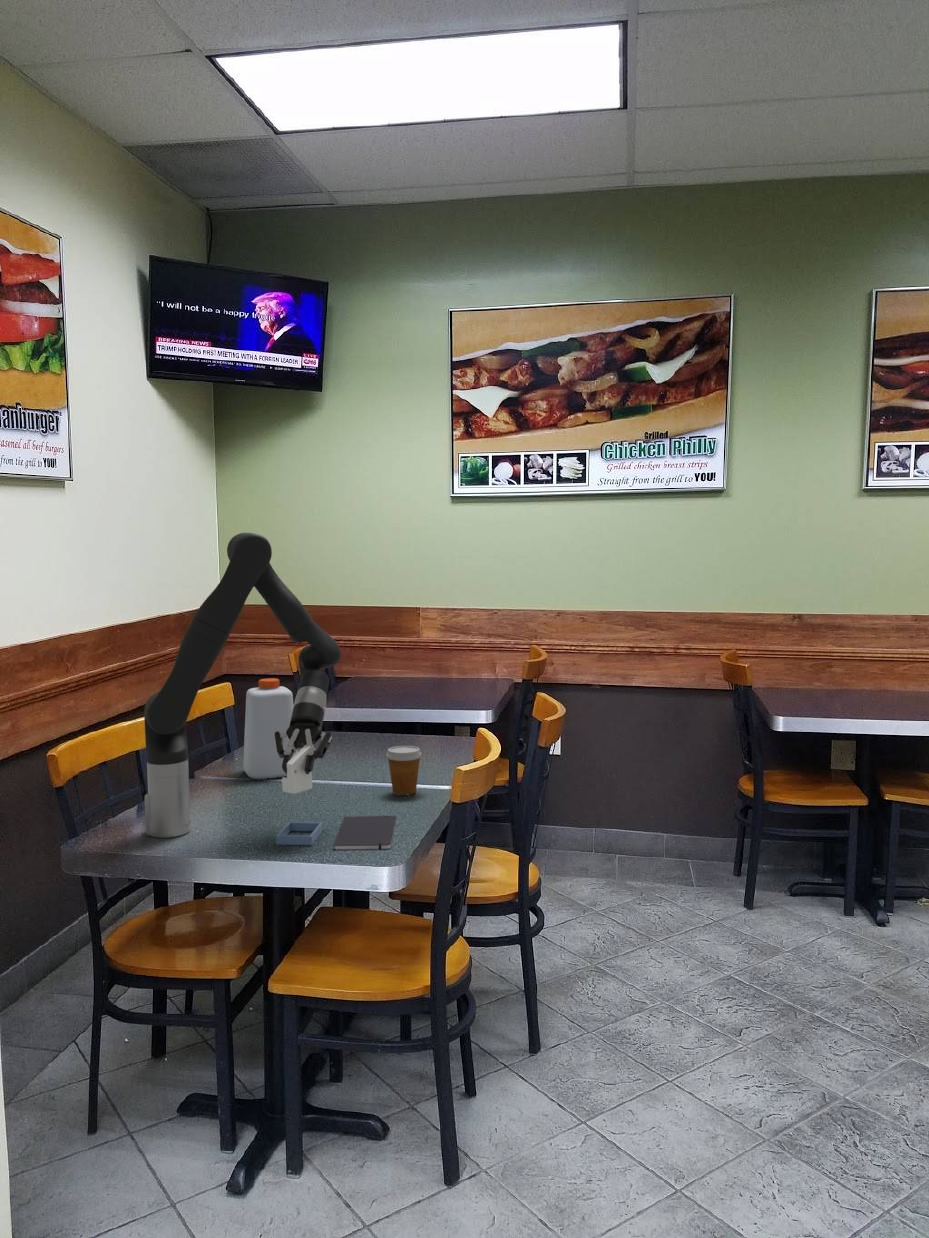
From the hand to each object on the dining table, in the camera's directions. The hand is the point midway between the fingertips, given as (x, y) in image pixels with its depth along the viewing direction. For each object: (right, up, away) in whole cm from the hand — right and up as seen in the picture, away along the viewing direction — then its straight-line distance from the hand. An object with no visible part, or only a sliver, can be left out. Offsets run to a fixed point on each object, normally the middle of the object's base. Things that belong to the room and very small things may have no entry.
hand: (296, 771), depth 203 cm
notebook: (+15, -16, +5) cm, 23 cm away
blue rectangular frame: (0, -16, +3) cm, 16 cm away
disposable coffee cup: (+22, -13, +40) cm, 47 cm away
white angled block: (0, -5, +2) cm, 5 cm away
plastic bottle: (-19, -11, +63) cm, 66 cm away
